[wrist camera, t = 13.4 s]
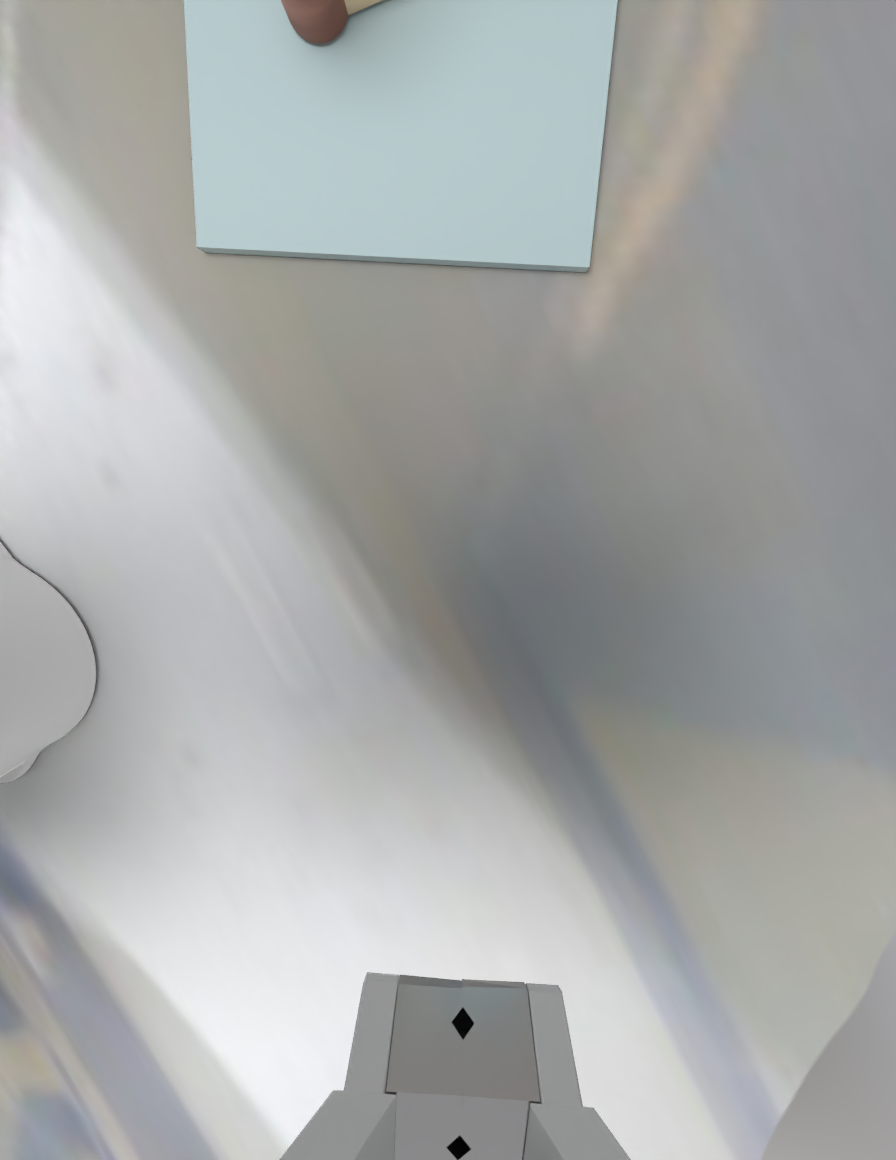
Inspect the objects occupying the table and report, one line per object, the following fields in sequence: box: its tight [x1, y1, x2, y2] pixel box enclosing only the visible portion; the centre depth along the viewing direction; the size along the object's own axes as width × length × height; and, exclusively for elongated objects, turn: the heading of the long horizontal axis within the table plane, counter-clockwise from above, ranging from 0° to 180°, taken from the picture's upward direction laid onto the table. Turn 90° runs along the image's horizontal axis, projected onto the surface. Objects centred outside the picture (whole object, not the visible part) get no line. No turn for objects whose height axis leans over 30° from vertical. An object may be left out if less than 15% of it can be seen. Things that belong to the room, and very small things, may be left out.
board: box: [184, 0, 618, 272], centre depth 29 cm, size 22×22×1 cm
